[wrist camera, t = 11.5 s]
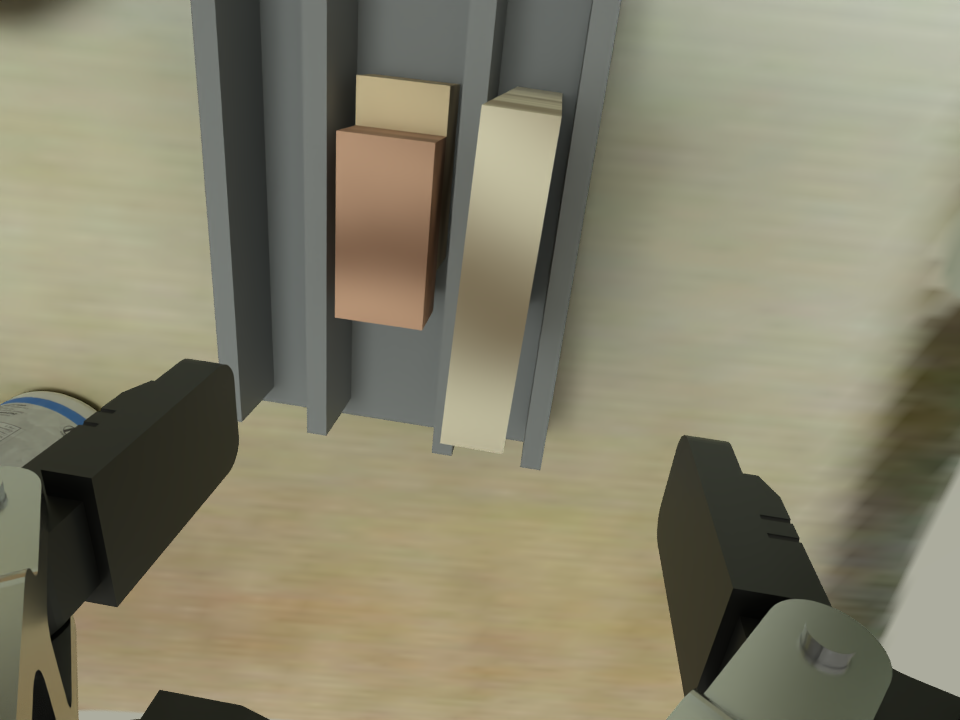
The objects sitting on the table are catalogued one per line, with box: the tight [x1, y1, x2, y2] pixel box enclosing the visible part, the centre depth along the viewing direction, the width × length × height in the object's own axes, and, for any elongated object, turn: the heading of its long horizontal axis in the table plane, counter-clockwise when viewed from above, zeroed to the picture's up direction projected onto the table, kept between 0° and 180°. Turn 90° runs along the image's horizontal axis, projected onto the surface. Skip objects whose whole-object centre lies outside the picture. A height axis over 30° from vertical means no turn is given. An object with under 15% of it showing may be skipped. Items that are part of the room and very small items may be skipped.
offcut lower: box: [355, 74, 460, 271], centre depth 30 cm, size 8×4×2 cm, turn 174°
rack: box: [190, 0, 621, 470], centre depth 30 cm, size 26×16×6 cm, turn 174°
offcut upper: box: [335, 125, 446, 330], centre depth 28 cm, size 8×4×2 cm, turn 174°
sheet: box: [440, 87, 562, 454], centre depth 24 cm, size 10×2×14 cm, turn 172°
